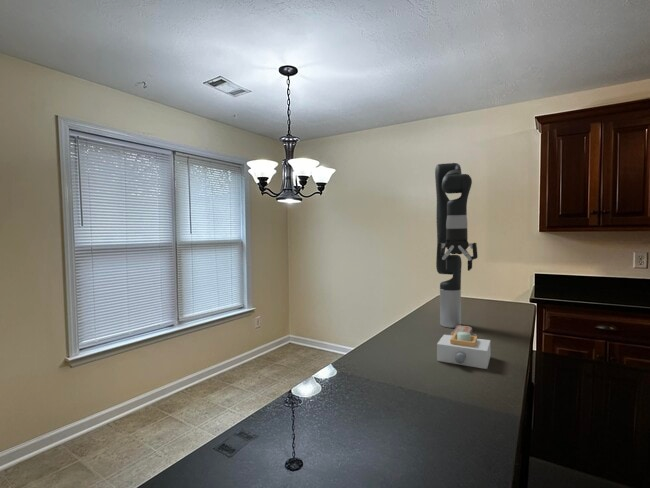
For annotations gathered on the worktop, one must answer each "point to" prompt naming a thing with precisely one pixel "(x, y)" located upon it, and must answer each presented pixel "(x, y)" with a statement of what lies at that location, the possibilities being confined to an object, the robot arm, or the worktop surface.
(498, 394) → the worktop surface
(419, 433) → the worktop surface
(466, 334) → the pale green rounded piece
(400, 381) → the worktop surface
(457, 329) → the packaged product
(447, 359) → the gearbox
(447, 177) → the robot arm
